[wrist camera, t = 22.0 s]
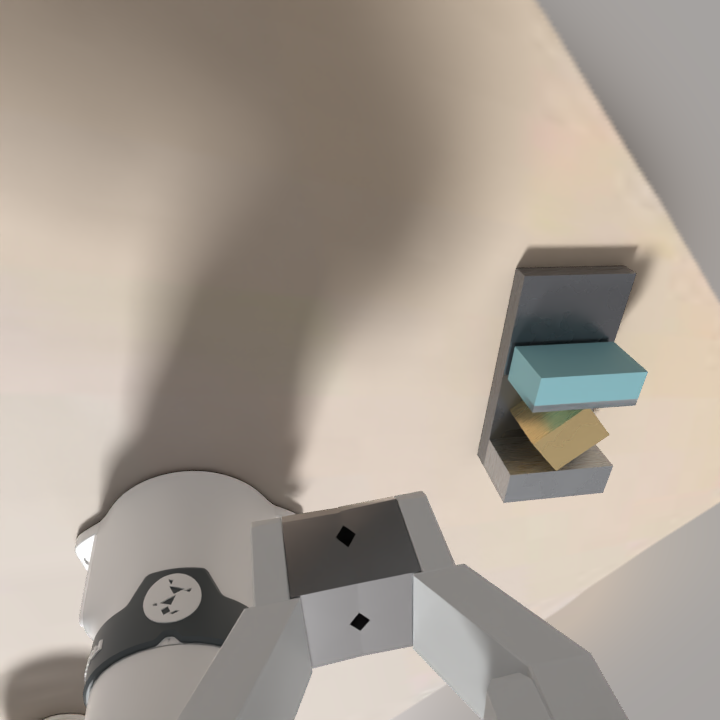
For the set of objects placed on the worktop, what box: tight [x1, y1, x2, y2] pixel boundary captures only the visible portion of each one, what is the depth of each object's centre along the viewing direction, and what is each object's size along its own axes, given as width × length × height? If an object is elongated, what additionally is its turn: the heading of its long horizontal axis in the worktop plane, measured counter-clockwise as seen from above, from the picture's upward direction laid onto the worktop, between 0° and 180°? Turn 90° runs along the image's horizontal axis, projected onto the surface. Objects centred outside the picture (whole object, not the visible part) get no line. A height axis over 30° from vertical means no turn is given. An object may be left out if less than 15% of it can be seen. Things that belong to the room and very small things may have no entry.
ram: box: [508, 342, 648, 413], centre depth 43 cm, size 3×8×4 cm, turn 87°
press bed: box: [477, 266, 636, 503], centre depth 45 cm, size 18×9×6 cm, turn 177°
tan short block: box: [510, 401, 609, 471], centre depth 46 cm, size 5×4×4 cm
